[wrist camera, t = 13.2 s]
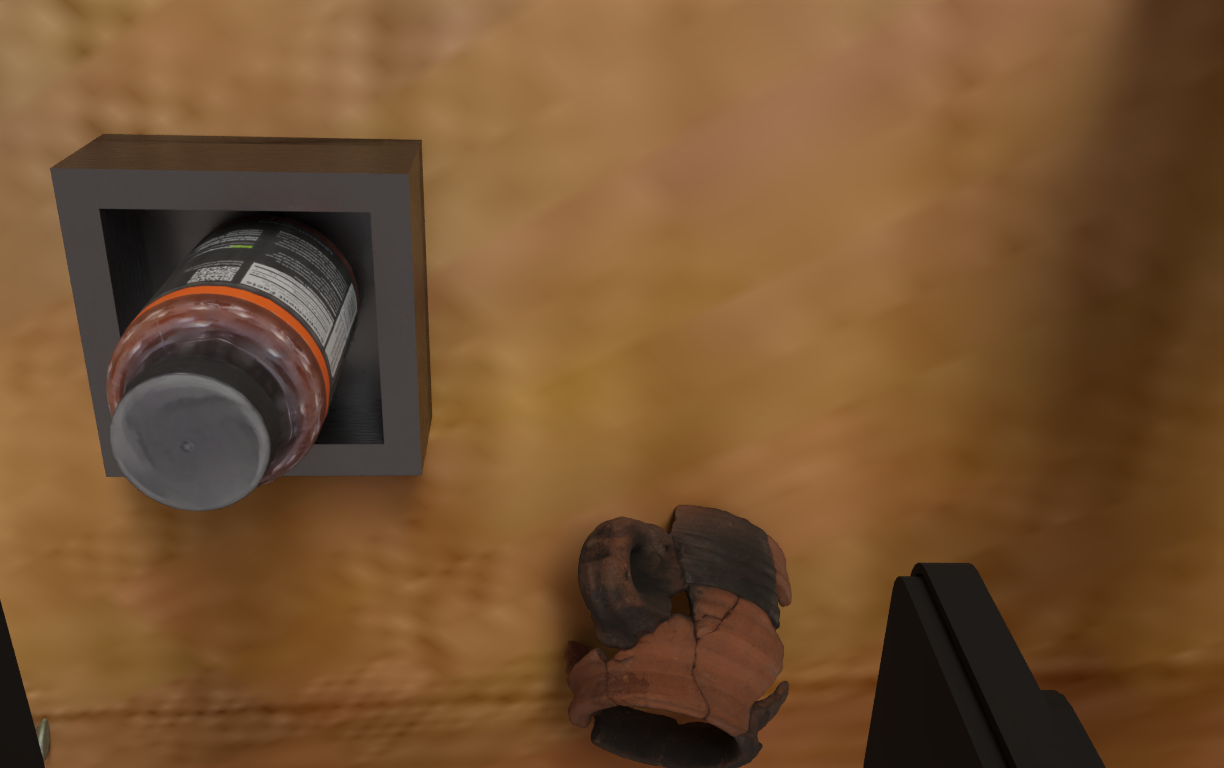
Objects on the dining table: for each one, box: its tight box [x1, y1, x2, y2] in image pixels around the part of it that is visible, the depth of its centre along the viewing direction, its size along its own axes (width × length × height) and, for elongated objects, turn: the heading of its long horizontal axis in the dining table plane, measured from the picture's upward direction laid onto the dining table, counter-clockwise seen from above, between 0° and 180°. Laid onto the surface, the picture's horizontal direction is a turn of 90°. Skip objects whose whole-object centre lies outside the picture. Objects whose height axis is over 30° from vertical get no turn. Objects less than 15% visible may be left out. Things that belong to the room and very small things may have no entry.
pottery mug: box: [565, 505, 791, 768], centre depth 44 cm, size 12×10×8 cm
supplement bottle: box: [106, 215, 360, 511], centre depth 33 cm, size 6×6×11 cm
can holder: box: [50, 134, 432, 477], centre depth 37 cm, size 10×10×4 cm
